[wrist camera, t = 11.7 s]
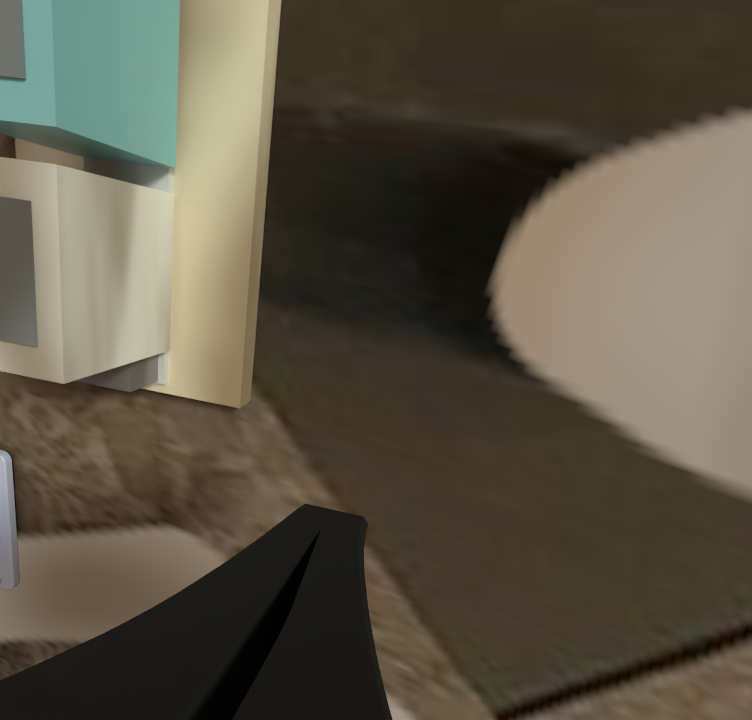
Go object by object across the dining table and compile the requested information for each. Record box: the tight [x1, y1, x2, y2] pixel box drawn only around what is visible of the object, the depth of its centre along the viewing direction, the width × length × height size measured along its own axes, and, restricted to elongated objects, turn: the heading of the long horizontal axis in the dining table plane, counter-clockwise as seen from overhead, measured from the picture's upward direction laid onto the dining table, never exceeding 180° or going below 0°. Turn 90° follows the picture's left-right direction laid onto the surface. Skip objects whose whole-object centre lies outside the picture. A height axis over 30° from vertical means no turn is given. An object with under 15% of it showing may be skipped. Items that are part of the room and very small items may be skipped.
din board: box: [0, 0, 281, 408], centre depth 13 cm, size 10×24×6 cm, turn 172°
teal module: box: [0, 0, 180, 168], centre depth 13 cm, size 4×6×5 cm, turn 172°
